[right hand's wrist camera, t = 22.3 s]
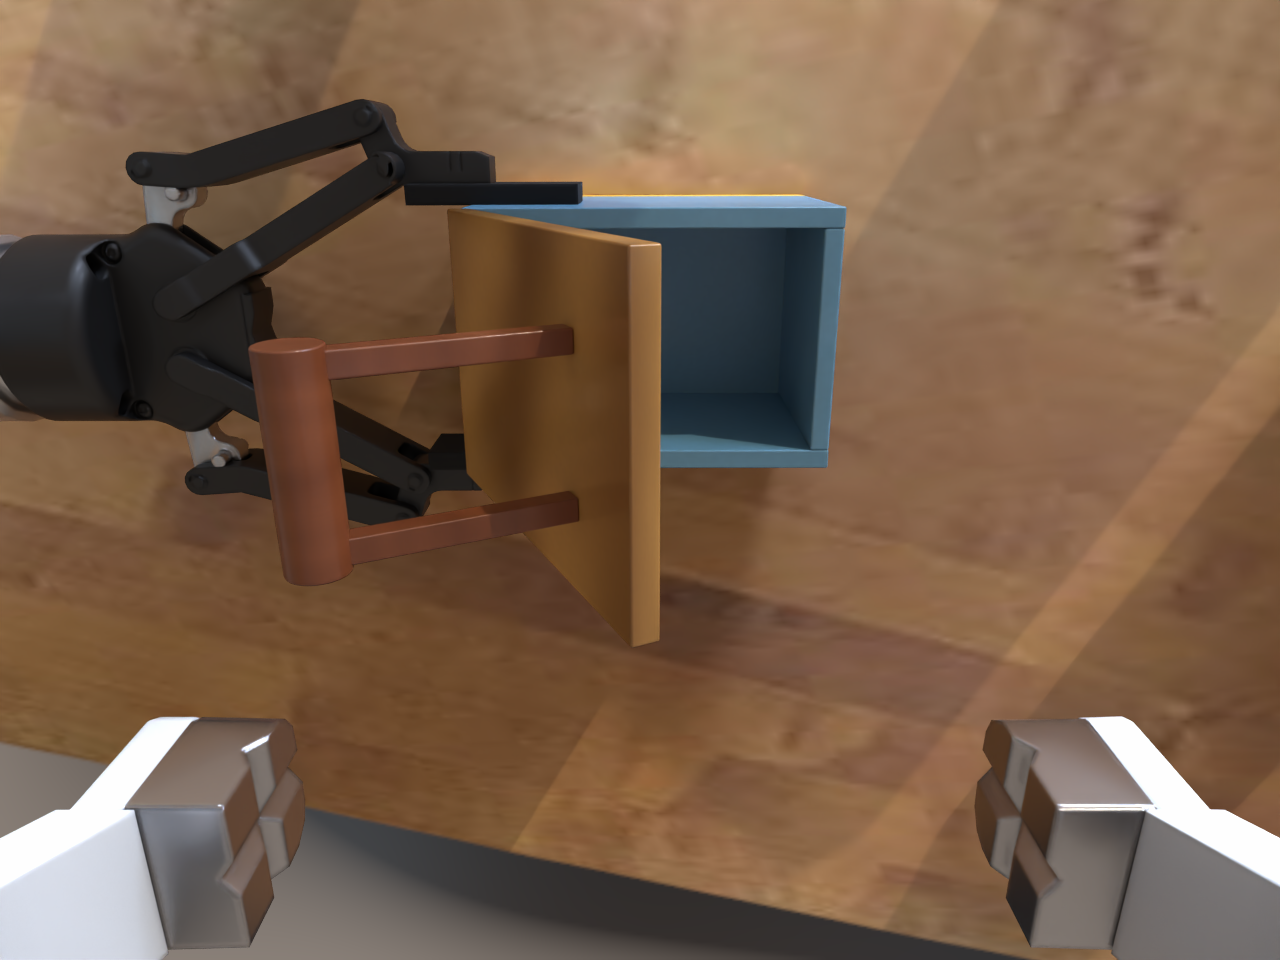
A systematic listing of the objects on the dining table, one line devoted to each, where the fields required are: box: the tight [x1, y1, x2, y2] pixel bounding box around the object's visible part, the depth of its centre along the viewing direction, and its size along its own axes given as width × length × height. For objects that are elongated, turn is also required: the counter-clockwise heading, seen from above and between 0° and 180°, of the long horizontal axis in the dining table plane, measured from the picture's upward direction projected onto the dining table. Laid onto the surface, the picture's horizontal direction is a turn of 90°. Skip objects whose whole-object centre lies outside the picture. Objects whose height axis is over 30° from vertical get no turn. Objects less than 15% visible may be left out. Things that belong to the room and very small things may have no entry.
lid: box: [248, 209, 661, 648], centre depth 25 cm, size 14×10×8 cm
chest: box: [461, 195, 847, 468], centre depth 38 cm, size 14×10×10 cm
